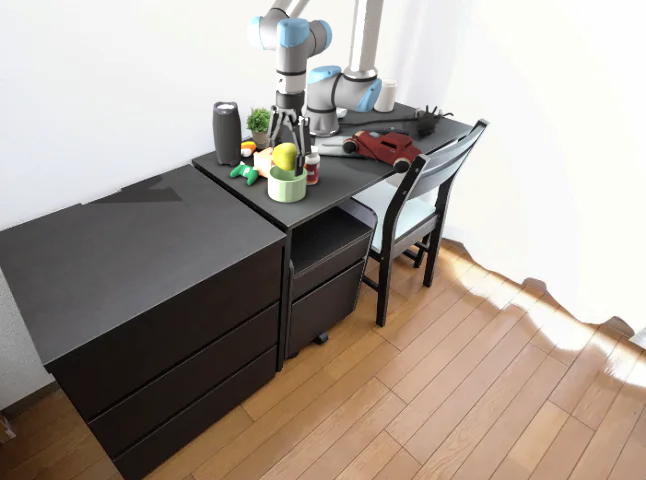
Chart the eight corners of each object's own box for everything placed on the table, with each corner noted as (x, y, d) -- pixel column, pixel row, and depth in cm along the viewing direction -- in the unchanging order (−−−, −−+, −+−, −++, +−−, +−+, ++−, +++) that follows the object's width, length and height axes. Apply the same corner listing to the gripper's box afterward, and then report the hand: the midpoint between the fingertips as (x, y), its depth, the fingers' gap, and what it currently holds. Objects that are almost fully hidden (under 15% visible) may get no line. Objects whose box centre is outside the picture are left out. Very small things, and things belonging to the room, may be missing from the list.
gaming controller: (254, 188, 123) (263, 172, 123) (248, 184, 120) (257, 167, 119) (234, 179, 128) (242, 163, 127) (228, 175, 124) (236, 158, 124)
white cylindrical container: (394, 108, 169) (401, 79, 161) (389, 114, 164) (395, 85, 156) (377, 105, 172) (382, 77, 164) (371, 110, 167) (376, 82, 159)
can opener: (407, 140, 144) (411, 126, 140) (406, 148, 139) (410, 134, 135) (360, 134, 148) (363, 120, 144) (358, 141, 143) (360, 127, 140)
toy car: (359, 141, 143) (365, 115, 137) (429, 167, 129) (439, 139, 123) (337, 153, 135) (342, 126, 128) (409, 182, 121) (419, 153, 114)
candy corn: (255, 140, 138) (251, 151, 133) (257, 147, 140) (253, 158, 135) (240, 141, 140) (235, 152, 134) (242, 149, 142) (237, 160, 136)
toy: (414, 113, 167) (407, 137, 145) (418, 97, 163) (411, 120, 141) (441, 116, 163) (437, 142, 142) (445, 101, 159) (442, 125, 138)
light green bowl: (288, 179, 124) (289, 159, 119) (313, 193, 117) (315, 173, 112) (260, 190, 119) (260, 170, 114) (284, 206, 112) (285, 186, 107)
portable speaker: (213, 158, 135) (207, 102, 122) (237, 153, 138) (234, 98, 125) (221, 169, 129) (215, 111, 116) (246, 163, 132) (244, 106, 119)
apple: (295, 179, 108) (297, 152, 103) (268, 171, 112) (267, 146, 107) (307, 167, 113) (309, 141, 108) (280, 160, 117) (280, 135, 112)
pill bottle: (295, 183, 122) (297, 151, 114) (302, 174, 126) (304, 143, 119) (314, 187, 120) (317, 154, 112) (320, 178, 124) (323, 146, 117)
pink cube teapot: (261, 163, 132) (261, 141, 127) (289, 174, 126) (290, 150, 121) (247, 172, 128) (246, 149, 122) (275, 183, 122) (275, 159, 116)
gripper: (253, 82, 102) (255, 159, 117) (308, 104, 89) (302, 187, 104) (275, 77, 106) (274, 152, 121) (331, 97, 93) (322, 179, 107)
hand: (287, 168), depth 112 cm, fingers closed on apple, 9 cm apart
